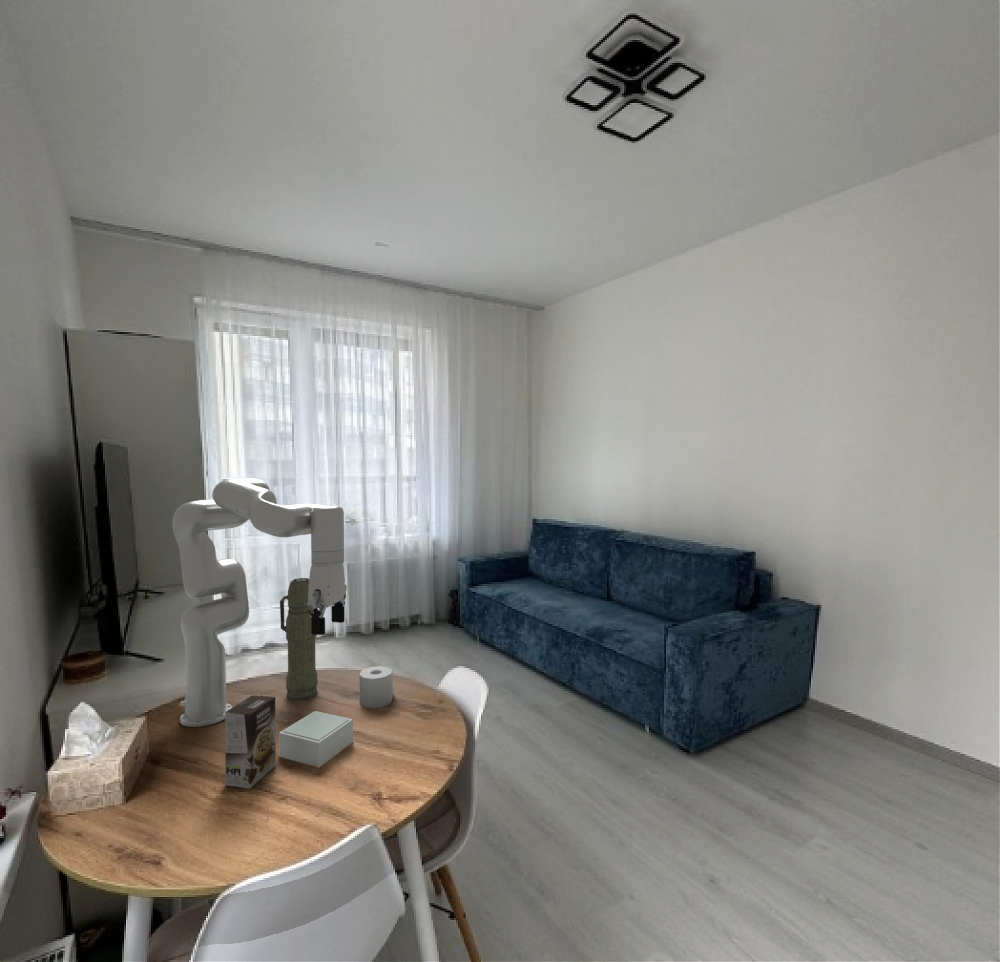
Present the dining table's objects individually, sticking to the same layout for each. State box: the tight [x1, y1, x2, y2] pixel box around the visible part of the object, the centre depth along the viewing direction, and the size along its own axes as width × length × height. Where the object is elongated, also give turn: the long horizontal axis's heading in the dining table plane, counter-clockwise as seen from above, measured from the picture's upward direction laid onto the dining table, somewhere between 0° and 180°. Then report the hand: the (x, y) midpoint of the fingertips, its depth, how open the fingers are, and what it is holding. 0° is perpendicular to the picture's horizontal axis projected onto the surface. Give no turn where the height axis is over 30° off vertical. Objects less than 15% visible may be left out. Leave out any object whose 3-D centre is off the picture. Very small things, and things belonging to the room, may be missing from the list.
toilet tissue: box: [358, 665, 395, 709], centre depth 153 cm, size 9×13×9 cm
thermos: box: [279, 577, 321, 701], centre depth 156 cm, size 9×12×35 cm
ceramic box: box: [278, 710, 354, 768], centre depth 125 cm, size 12×12×6 cm
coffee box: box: [224, 694, 277, 790], centre depth 114 cm, size 9×6×16 cm
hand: (328, 628), depth 123 cm, fingers open, 9 cm apart
